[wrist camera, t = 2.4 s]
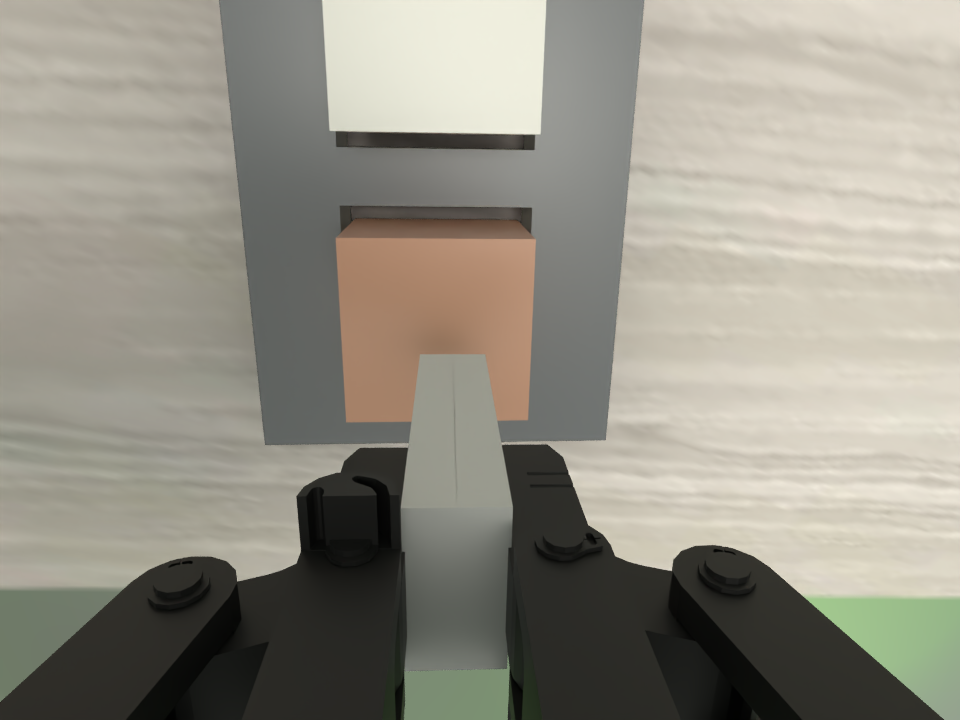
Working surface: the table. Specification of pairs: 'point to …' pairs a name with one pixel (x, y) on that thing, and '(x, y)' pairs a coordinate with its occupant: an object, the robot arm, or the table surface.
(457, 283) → the key terracotta
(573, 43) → the key panel
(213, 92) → the table surface
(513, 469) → the robot arm
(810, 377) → the table surface
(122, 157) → the table surface
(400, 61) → the key white
